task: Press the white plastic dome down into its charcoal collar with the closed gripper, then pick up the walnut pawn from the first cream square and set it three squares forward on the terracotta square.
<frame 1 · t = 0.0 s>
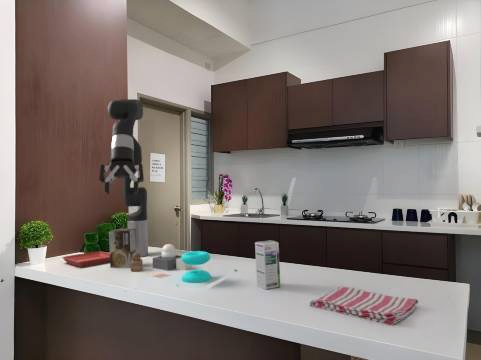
hand: (121, 193, 124), 31 cm above the counter, tool tilted 20°, fingers open, 8 cm apart
donuts: (196, 282, 128), on the counter
dome: (168, 251, 148), point 7 cm above the counter, slide at 0.0 cm
board: (160, 272, 143), on the counter
plant saucer: (90, 263, 167), on the counter
coffee box: (123, 269, 152), on the counter
pawn: (136, 270, 143), point 1 cm above the counter, touching board
syrup box: (268, 286, 120), on the counter
die: (183, 268, 144), point 1 cm above the counter, touching board
dish towel: (363, 309, 98), on the counter
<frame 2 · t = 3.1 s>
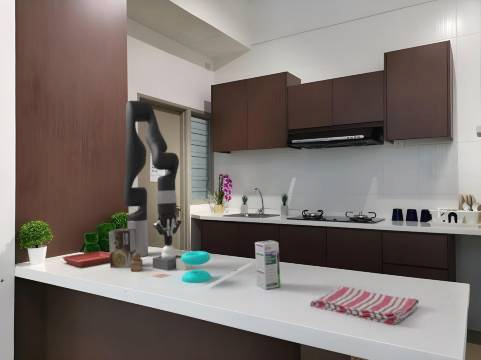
hand: (168, 245, 148), 10 cm above the counter, tool pointing down, fingers closed
dome: (168, 252, 148), point 7 cm above the counter, slide at 0.4 cm, touching gripper
everything else where it was.
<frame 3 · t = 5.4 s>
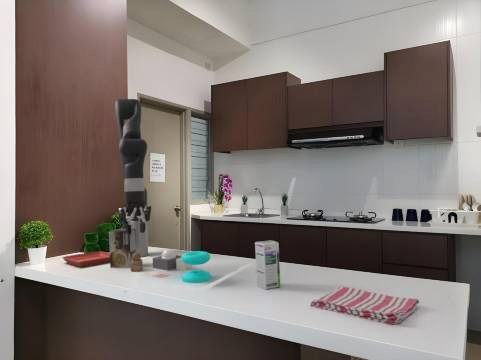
hand: (135, 233, 143), 15 cm above the counter, tool pointing down, fingers open, 5 cm apart
dome: (168, 256, 148), point 5 cm above the counter, slide at 2.0 cm
everything else where it was.
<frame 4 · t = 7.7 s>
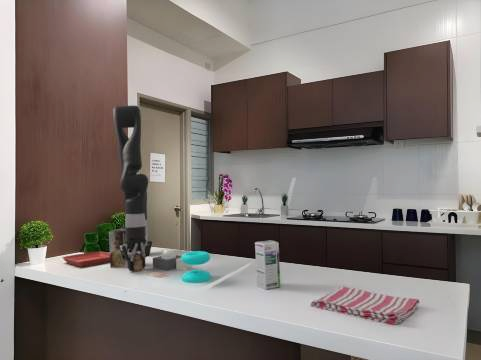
hand: (136, 269, 143), 2 cm above the counter, tool pointing down, fingers closed on pawn, 4 cm apart
pawn: (136, 270, 143), point 1 cm above the counter, touching board, gripper
everything else where it was.
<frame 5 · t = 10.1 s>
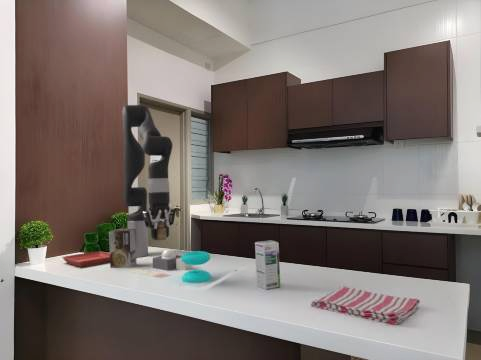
hand: (160, 238, 134), 15 cm above the counter, tool pointing down, fingers closed on pawn, 4 cm apart
pawn: (160, 239, 134), point 14 cm above the counter, touching gripper
everything else where it was.
when the fingers open (3 cm above the counter, at t = 12.6 s): pawn drops 1 cm, resting on board.
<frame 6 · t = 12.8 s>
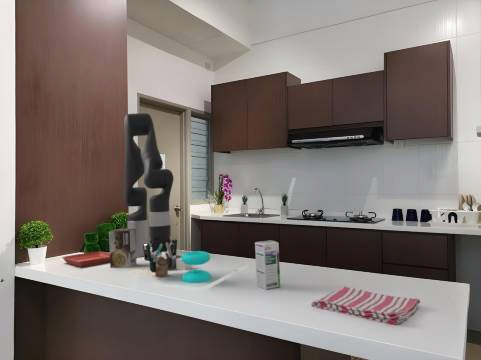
hand: (161, 270, 134), 3 cm above the counter, tool pointing down, fingers open, 6 cm apart
pawn: (161, 275, 134), point 1 cm above the counter, touching board
everything else where it was.
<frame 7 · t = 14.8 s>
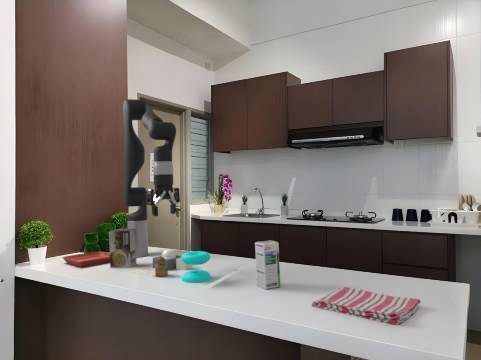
hand: (164, 215, 143), 22 cm above the counter, tool pointing down, fingers open, 8 cm apart
nothing on the counter moved.
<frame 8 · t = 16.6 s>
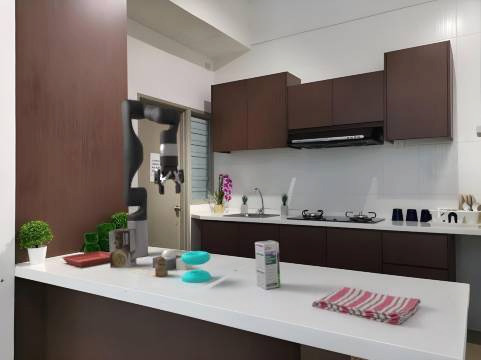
hand: (170, 194, 154), 30 cm above the counter, tool pointing down, fingers open, 8 cm apart
nothing on the counter moved.
at the end: dome slide at 2.0 cm; pawn 0.1 cm from the target spot, point 1.1 cm above the counter; pawn tilted 0° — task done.
